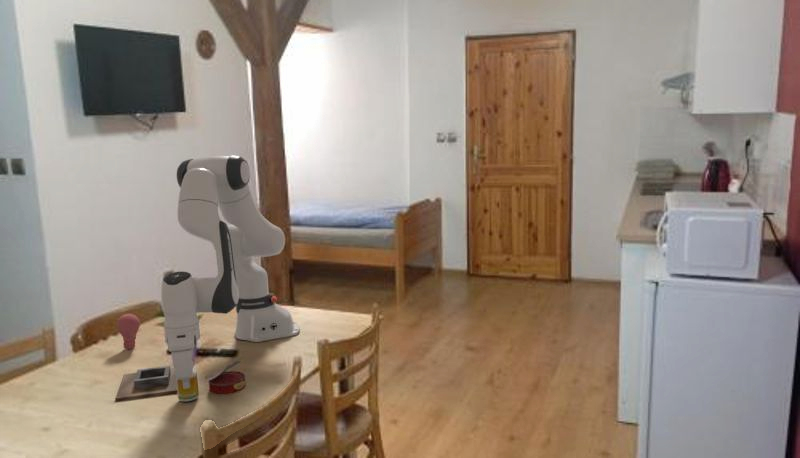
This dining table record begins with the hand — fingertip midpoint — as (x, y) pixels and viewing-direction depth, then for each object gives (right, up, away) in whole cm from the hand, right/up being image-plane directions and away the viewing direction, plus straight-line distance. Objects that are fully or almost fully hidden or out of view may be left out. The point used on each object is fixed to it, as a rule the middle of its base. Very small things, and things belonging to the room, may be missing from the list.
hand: (187, 382), depth 176 cm
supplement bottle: (0, -4, +1) cm, 4 cm away
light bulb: (-33, +1, +43) cm, 54 cm away
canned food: (+9, -4, +8) cm, 13 cm away
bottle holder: (-14, -3, +12) cm, 19 cm away
